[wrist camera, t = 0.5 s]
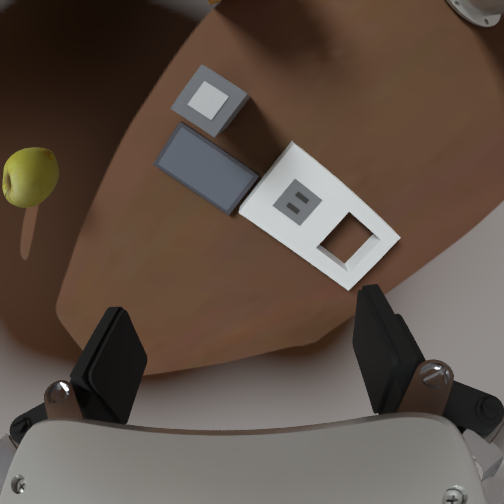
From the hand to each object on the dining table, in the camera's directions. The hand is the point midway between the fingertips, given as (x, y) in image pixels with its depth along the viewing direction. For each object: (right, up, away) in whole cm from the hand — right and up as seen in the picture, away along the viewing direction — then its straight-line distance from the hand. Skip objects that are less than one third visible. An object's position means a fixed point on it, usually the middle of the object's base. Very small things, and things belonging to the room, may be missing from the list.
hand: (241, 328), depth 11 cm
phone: (-5, +13, +23) cm, 27 cm away
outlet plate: (+9, +7, +25) cm, 28 cm away
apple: (-29, +15, +22) cm, 39 cm away
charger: (-3, +20, +19) cm, 28 cm away
